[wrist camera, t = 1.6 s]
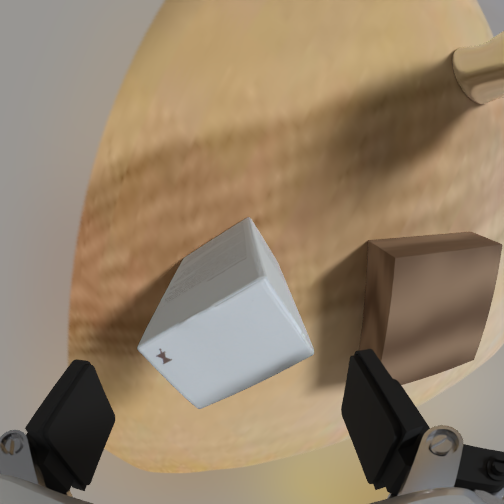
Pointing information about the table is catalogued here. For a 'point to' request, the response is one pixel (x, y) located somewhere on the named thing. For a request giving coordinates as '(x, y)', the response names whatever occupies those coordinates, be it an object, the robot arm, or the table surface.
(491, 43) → the beer glass
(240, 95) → the table surface
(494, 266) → the walnut block
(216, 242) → the skincare box
